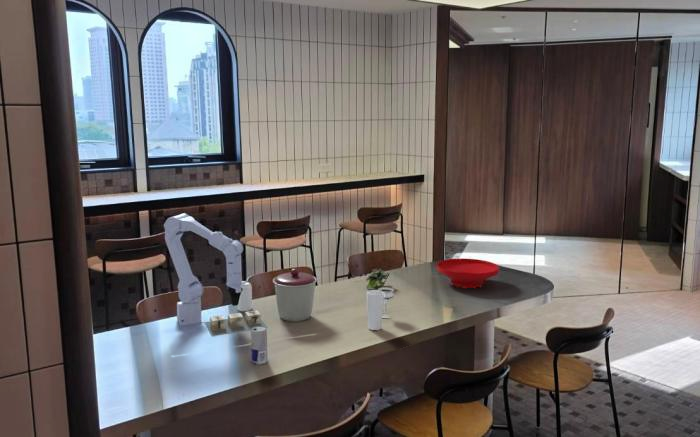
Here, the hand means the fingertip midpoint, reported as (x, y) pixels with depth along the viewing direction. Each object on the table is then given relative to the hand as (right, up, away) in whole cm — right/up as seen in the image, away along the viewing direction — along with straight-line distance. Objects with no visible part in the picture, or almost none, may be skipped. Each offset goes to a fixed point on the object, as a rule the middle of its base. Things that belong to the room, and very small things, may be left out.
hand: (235, 305), depth 223 cm
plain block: (0, -8, +2) cm, 8 cm away
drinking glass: (+55, -10, 0) cm, 56 cm away
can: (0, -5, +21) cm, 22 cm away
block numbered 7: (+6, -8, +4) cm, 11 cm away
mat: (0, -9, +2) cm, 9 cm away
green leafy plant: (+59, 0, +54) cm, 80 cm away
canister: (+23, -7, +12) cm, 27 cm away
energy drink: (+15, -15, -31) cm, 37 cm away
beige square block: (-6, -9, -1) cm, 11 cm away
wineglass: (+60, -7, +13) cm, 62 cm away
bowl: (+105, +1, +61) cm, 121 cm away
